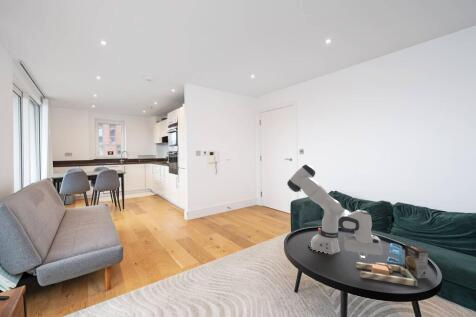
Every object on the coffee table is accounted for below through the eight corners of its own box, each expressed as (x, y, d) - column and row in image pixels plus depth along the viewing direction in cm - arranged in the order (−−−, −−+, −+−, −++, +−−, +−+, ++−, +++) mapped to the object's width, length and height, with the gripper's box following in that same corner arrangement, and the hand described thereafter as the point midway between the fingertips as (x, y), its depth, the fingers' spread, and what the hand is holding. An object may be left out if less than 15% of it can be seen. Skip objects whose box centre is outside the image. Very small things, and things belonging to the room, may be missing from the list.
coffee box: (403, 269, 131) (404, 244, 130) (413, 269, 131) (414, 244, 131) (417, 278, 122) (418, 251, 121) (427, 278, 122) (428, 251, 122)
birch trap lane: (361, 277, 123) (361, 272, 123) (355, 263, 138) (355, 259, 138) (417, 286, 115) (417, 281, 115) (404, 270, 129) (404, 266, 129)
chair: (402, 266, 134) (403, 248, 134) (386, 262, 140) (387, 244, 139) (403, 262, 140) (404, 244, 139) (388, 257, 145) (389, 240, 145)
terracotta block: (372, 275, 125) (372, 267, 124) (371, 271, 129) (371, 263, 129) (388, 279, 121) (389, 270, 121) (386, 274, 126) (386, 266, 126)
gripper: (344, 237, 127) (344, 259, 128) (383, 241, 121) (383, 264, 121) (343, 233, 133) (343, 254, 134) (380, 237, 127) (380, 259, 127)
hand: (362, 259), depth 127 cm, fingers closed
